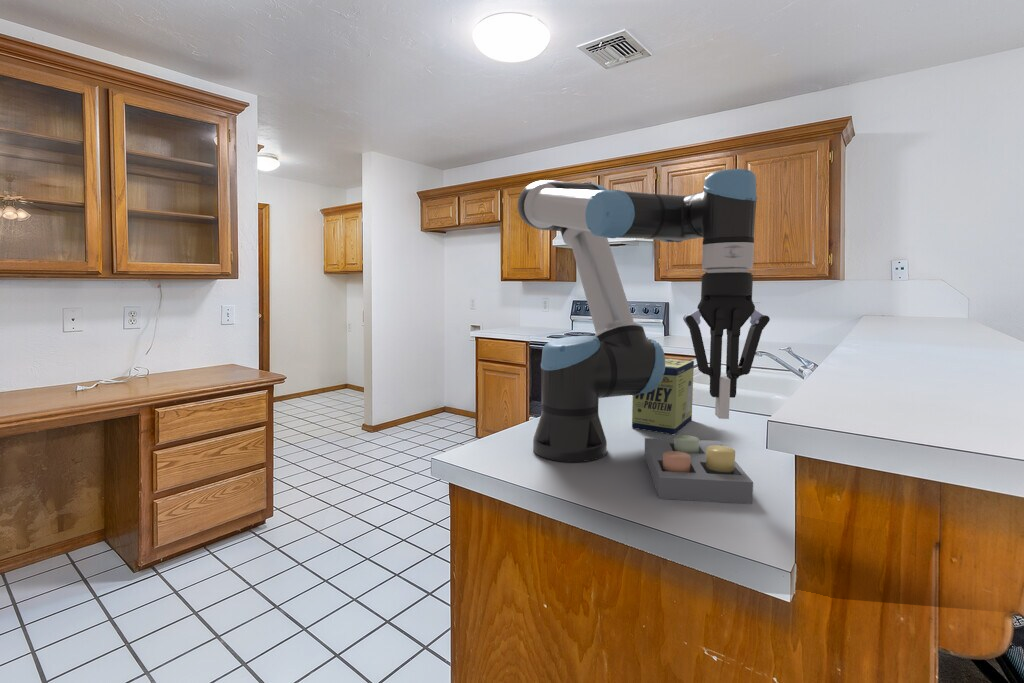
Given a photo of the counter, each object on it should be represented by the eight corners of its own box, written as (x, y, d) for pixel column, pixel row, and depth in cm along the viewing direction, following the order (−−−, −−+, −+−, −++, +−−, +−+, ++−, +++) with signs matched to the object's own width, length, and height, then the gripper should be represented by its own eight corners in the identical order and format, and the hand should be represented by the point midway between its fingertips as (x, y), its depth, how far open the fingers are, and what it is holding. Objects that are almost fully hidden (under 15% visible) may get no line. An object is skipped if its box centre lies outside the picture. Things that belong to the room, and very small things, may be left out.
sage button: (676, 457, 91) (676, 441, 91) (672, 449, 96) (672, 434, 95) (701, 458, 91) (701, 442, 90) (695, 450, 95) (696, 435, 95)
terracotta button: (664, 476, 82) (665, 459, 82) (660, 467, 86) (661, 450, 86) (692, 478, 81) (693, 460, 81) (687, 468, 86) (687, 451, 85)
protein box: (631, 428, 119) (632, 364, 117) (652, 414, 132) (653, 356, 130) (675, 435, 113) (677, 368, 111) (692, 420, 126) (694, 359, 124)
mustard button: (709, 471, 81) (710, 453, 80) (703, 461, 85) (703, 444, 85) (737, 472, 80) (738, 454, 80) (730, 463, 84) (731, 446, 84)
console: (659, 498, 79) (659, 477, 79) (644, 455, 100) (644, 438, 99) (752, 503, 77) (753, 482, 77) (717, 458, 98) (718, 440, 97)
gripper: (688, 271, 76) (684, 421, 79) (779, 270, 74) (772, 424, 77) (680, 273, 84) (676, 410, 86) (762, 272, 82) (756, 412, 84)
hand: (721, 416), depth 81 cm, fingers closed
